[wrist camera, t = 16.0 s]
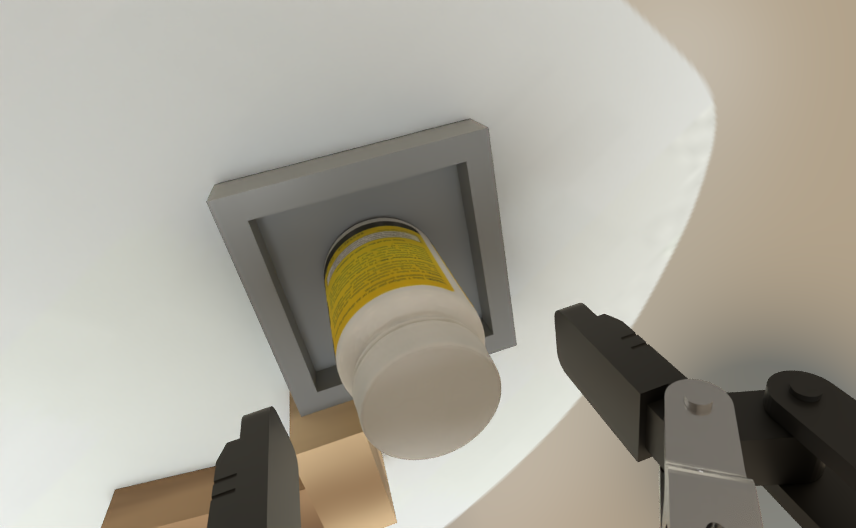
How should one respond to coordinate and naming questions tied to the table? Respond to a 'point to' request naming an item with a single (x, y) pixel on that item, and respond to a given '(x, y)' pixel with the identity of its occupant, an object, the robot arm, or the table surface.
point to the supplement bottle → (407, 342)
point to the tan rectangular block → (341, 468)
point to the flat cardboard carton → (179, 503)
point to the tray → (342, 209)
